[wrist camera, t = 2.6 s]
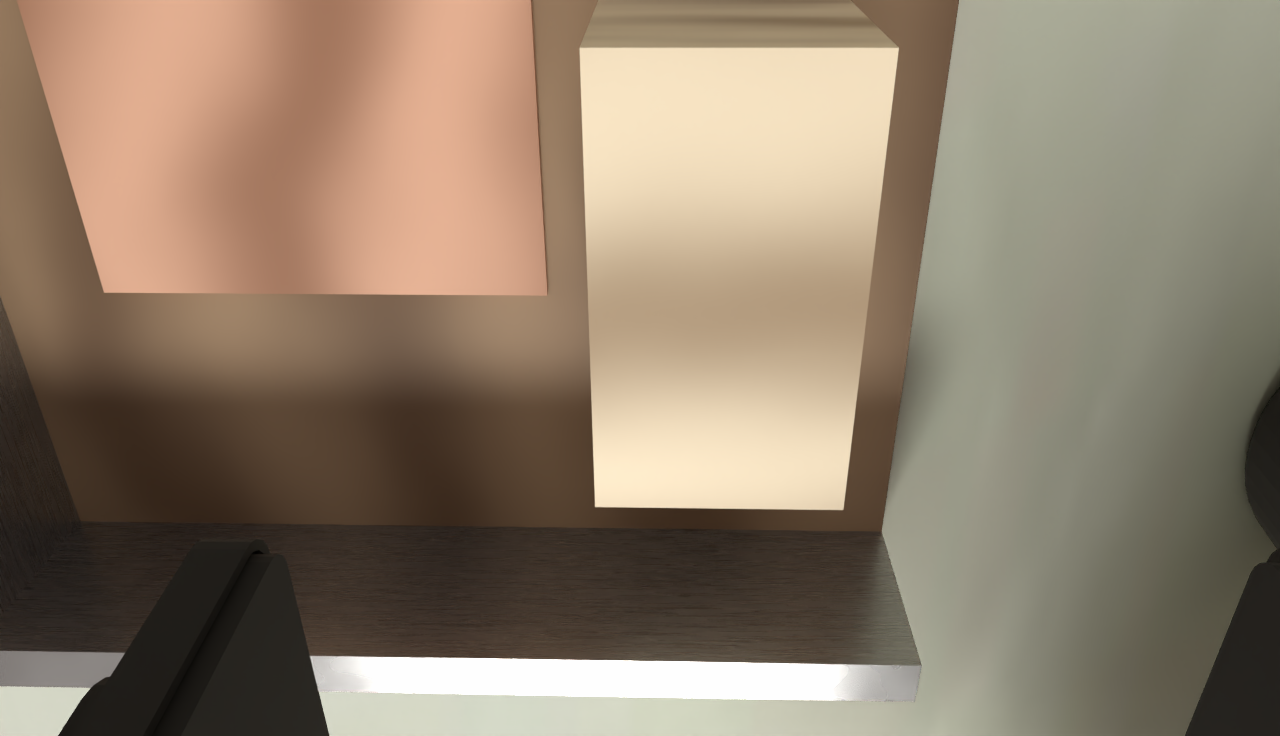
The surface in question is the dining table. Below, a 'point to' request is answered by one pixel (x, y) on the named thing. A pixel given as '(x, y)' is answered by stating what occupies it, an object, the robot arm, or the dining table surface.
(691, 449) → the maple block
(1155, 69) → the dining table surface
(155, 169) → the walnut board
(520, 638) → the metal walls
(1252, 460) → the pen holder
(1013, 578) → the dining table surface
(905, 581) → the dining table surface
